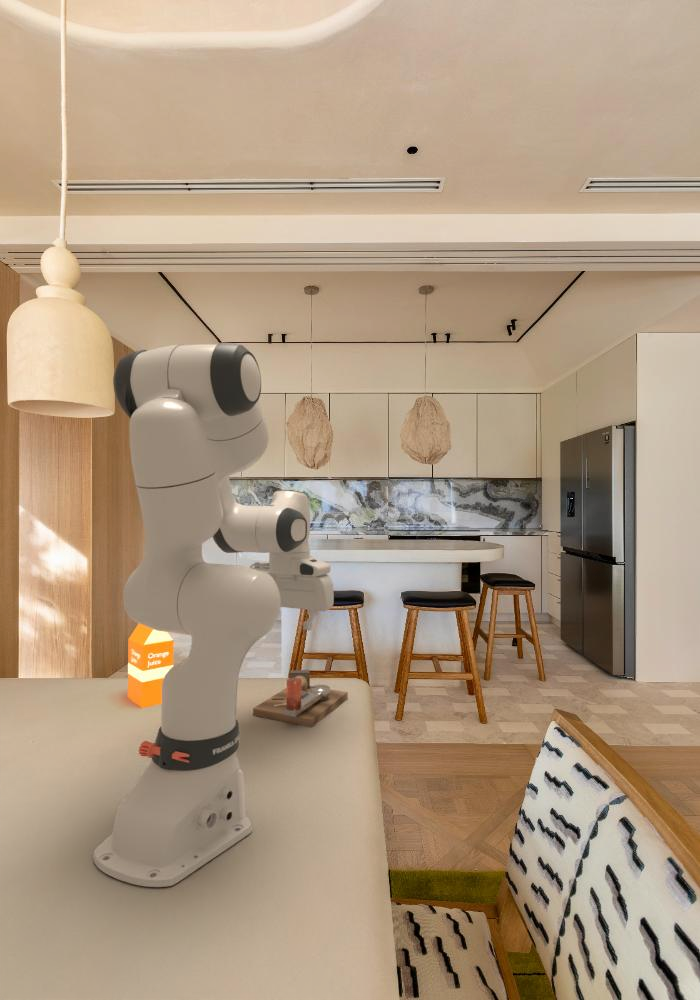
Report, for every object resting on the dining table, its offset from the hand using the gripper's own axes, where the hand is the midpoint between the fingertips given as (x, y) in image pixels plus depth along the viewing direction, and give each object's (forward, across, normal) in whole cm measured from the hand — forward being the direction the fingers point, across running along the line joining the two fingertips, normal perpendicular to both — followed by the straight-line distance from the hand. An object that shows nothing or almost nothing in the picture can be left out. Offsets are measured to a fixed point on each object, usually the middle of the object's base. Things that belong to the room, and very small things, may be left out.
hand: (288, 627), depth 122 cm
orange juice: (+21, -37, -1) cm, 43 cm away
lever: (+19, +2, +6) cm, 20 cm away
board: (+21, -1, +10) cm, 23 cm away
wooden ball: (+19, -5, +15) cm, 25 cm away
